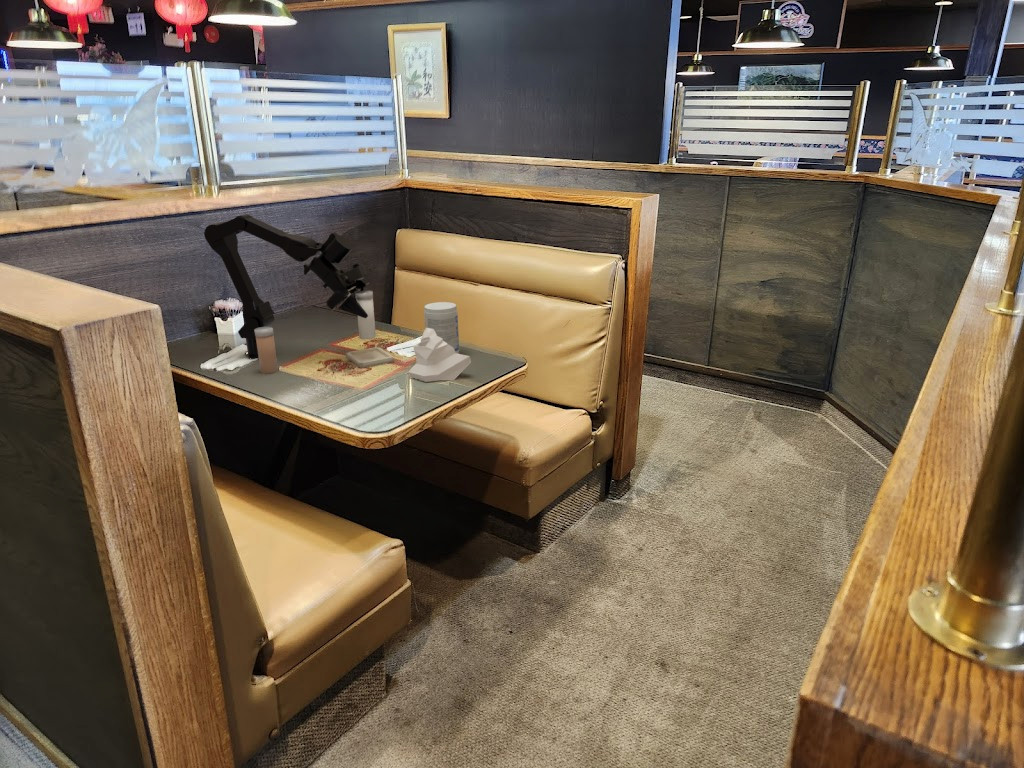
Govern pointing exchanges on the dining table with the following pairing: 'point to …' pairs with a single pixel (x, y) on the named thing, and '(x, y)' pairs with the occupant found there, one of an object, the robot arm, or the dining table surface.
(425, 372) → the white faceted sculpture
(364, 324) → the salt shaker
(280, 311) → the dining table surface
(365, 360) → the tray
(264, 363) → the pepper shaker
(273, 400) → the dining table surface
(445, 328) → the supplement tub
